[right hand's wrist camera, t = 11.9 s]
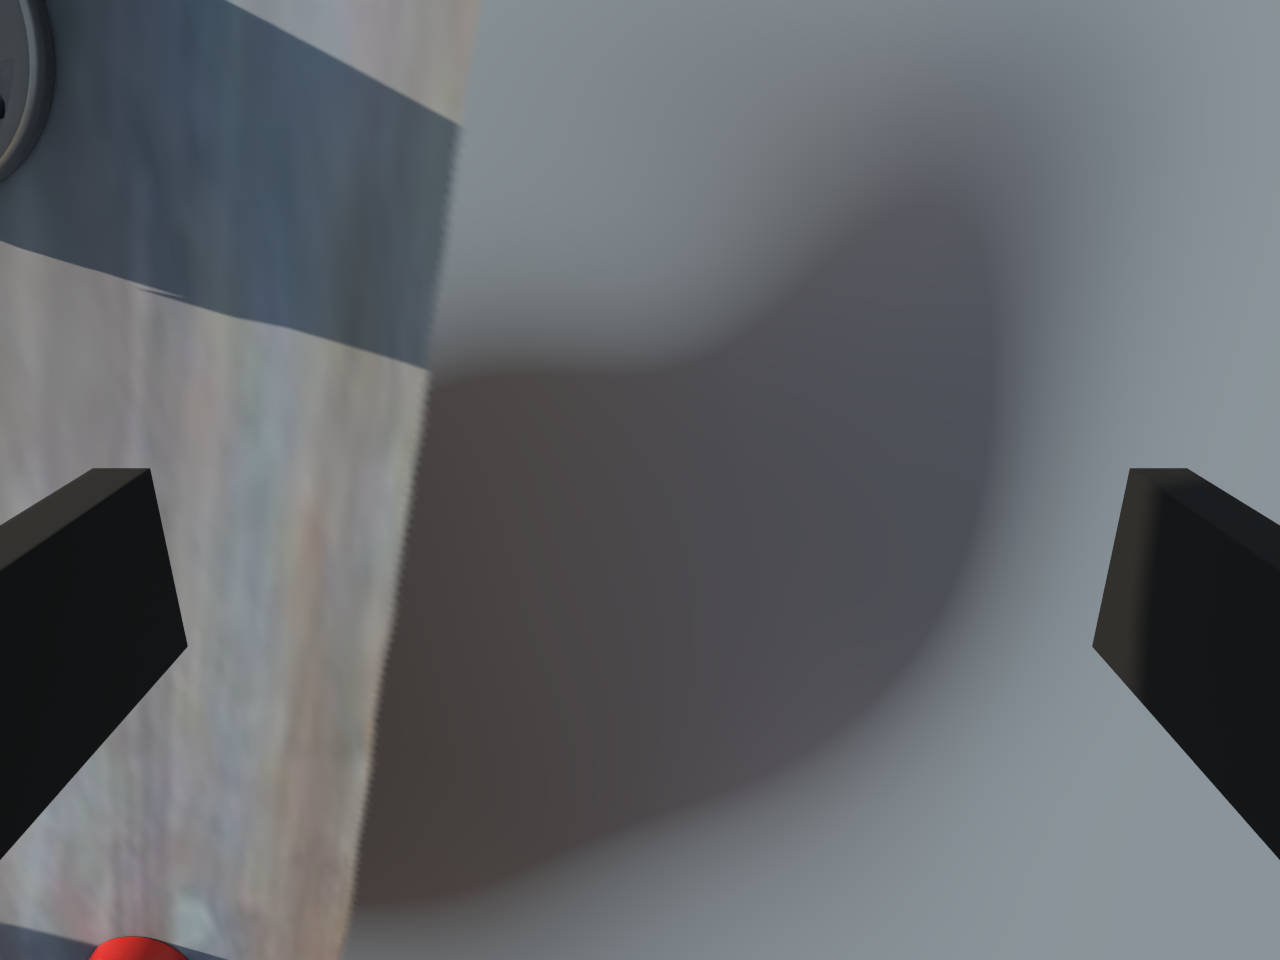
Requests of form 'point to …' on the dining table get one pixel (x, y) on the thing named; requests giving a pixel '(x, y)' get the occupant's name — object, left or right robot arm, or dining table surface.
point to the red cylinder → (135, 950)
